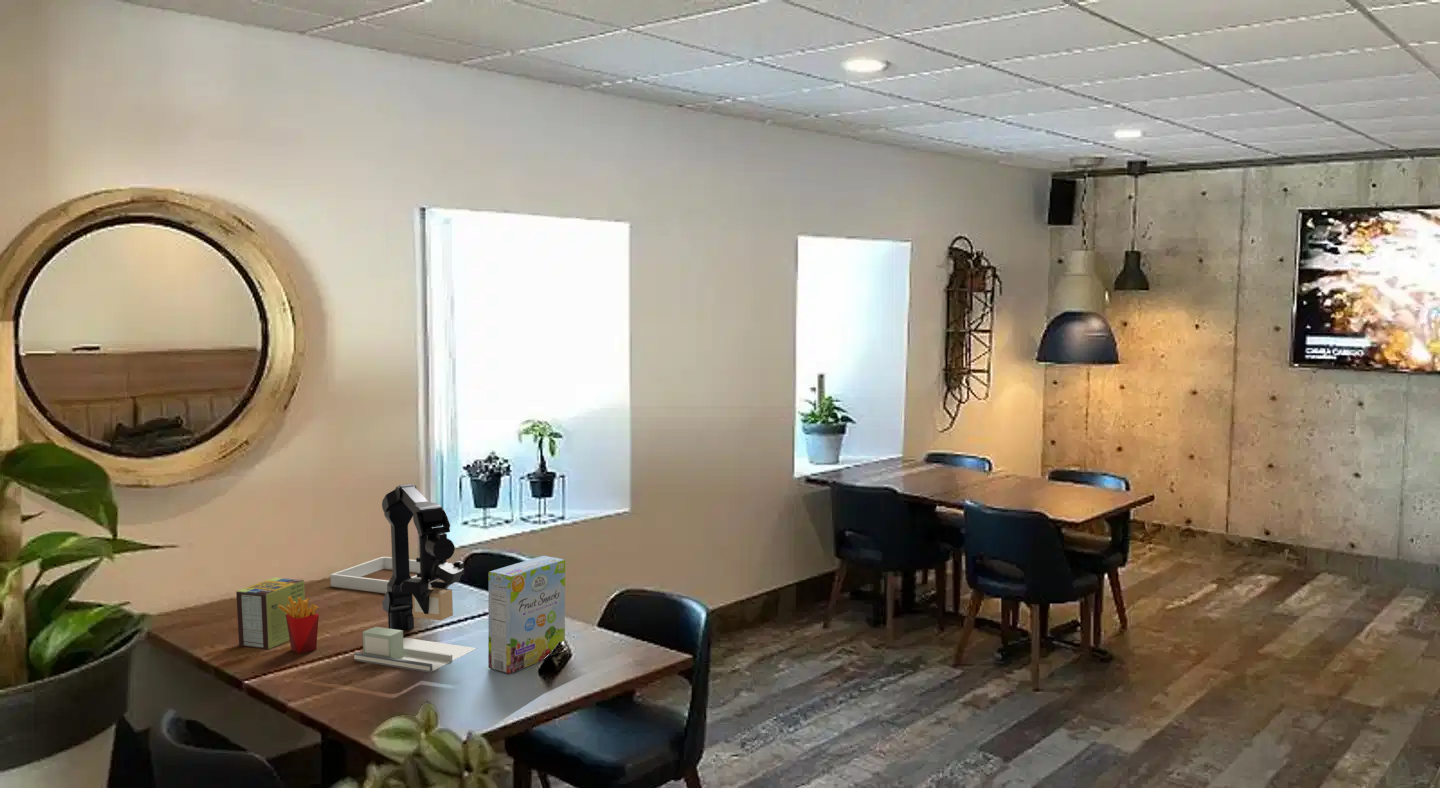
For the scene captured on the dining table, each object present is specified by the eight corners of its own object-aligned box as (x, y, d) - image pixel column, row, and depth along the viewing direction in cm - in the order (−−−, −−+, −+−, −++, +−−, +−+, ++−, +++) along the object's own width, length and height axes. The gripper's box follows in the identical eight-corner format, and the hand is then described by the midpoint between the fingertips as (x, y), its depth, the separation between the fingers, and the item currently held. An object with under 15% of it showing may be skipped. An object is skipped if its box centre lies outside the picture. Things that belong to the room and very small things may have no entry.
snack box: (512, 676, 276) (510, 576, 274) (487, 669, 281) (484, 571, 278) (568, 651, 295) (566, 557, 292) (543, 646, 299) (541, 553, 297)
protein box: (307, 633, 312) (304, 579, 310) (268, 649, 297) (265, 594, 296) (277, 629, 315) (274, 576, 314) (237, 646, 301) (234, 590, 299)
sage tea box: (403, 656, 289) (402, 630, 288) (391, 662, 284) (390, 636, 284) (376, 652, 292) (375, 626, 292) (363, 658, 288) (362, 632, 287)
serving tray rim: (330, 586, 360) (330, 574, 360) (383, 567, 384) (383, 556, 384) (399, 595, 350) (399, 582, 349) (449, 575, 373) (449, 563, 373)
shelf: (354, 663, 286) (354, 653, 286) (404, 640, 305) (404, 631, 304) (429, 675, 277) (429, 665, 277) (476, 651, 295) (476, 641, 295)
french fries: (310, 644, 302) (308, 590, 300) (323, 651, 296) (321, 596, 294) (278, 651, 296) (276, 597, 294) (291, 658, 290) (289, 603, 288)
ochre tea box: (452, 615, 291) (452, 589, 290) (441, 620, 286) (440, 594, 286) (425, 612, 294) (424, 586, 294) (412, 617, 290) (412, 591, 289)
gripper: (434, 563, 277) (436, 624, 278) (477, 547, 294) (478, 604, 296) (398, 560, 281) (400, 619, 283) (442, 544, 298) (444, 600, 300)
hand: (432, 611), depth 290 cm, fingers closed on ochre tea box, 5 cm apart
